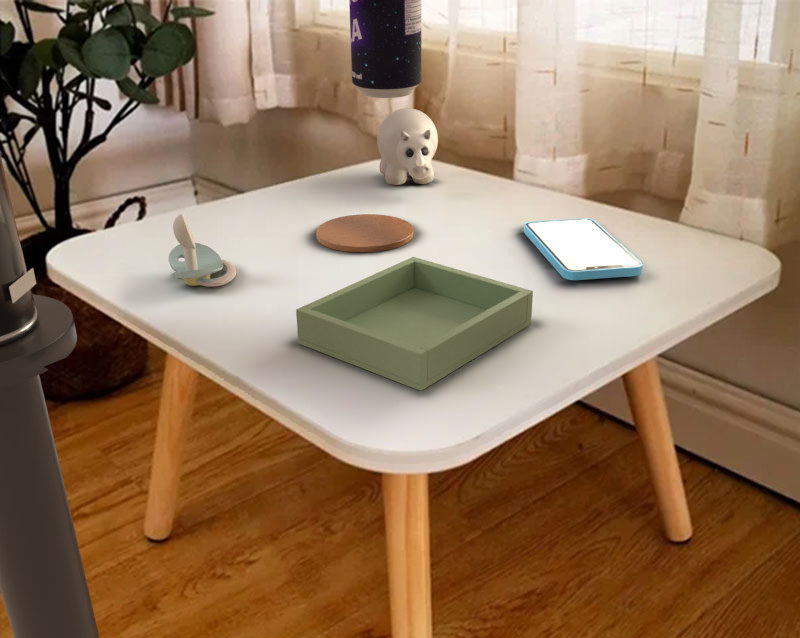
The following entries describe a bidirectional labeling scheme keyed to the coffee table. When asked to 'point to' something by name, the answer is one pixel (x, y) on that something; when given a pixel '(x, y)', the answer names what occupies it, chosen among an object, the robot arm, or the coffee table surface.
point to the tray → (414, 321)
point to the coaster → (364, 233)
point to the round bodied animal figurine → (407, 146)
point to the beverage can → (385, 46)
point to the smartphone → (582, 249)
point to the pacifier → (196, 259)
